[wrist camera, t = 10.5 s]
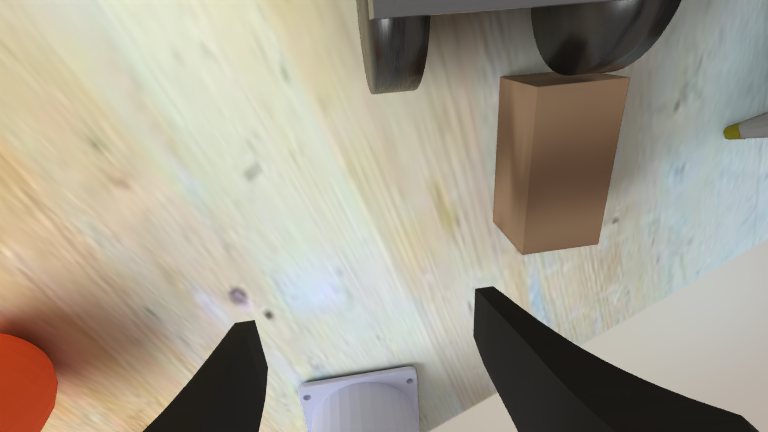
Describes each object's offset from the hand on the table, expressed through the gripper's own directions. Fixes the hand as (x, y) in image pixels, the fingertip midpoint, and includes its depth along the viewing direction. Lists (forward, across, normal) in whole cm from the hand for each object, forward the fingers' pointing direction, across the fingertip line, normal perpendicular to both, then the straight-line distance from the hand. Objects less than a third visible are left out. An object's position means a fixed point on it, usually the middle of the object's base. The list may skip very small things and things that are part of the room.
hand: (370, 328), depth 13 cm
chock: (+10, -10, -2) cm, 14 cm away
